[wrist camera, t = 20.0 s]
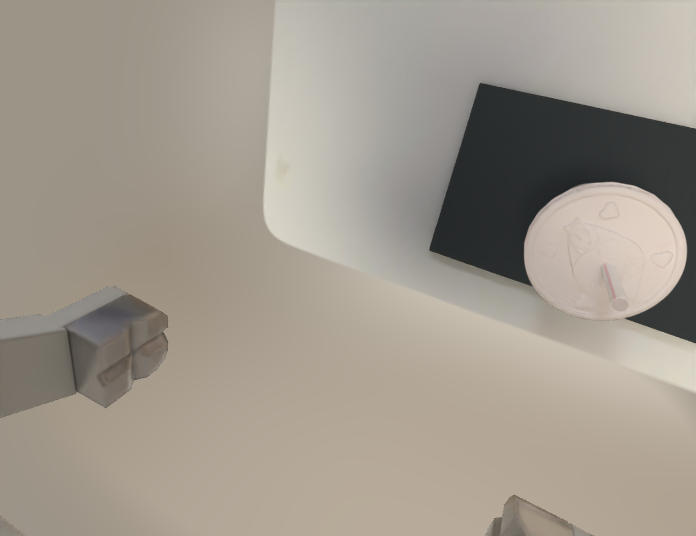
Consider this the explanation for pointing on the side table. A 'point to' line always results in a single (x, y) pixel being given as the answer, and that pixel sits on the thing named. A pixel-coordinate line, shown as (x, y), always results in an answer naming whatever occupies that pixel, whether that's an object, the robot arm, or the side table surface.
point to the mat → (562, 183)
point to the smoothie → (604, 251)
